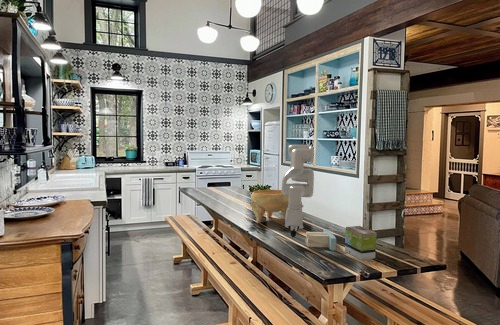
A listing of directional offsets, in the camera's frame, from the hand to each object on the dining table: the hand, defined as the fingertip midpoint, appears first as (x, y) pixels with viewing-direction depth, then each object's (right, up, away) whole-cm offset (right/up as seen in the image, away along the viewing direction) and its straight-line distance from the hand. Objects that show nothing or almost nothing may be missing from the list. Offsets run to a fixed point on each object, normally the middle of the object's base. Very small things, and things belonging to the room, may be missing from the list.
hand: (293, 236), depth 221 cm
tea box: (+35, -7, -16) cm, 39 cm away
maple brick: (+14, -5, 0) cm, 15 cm away
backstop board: (+22, -5, +1) cm, 22 cm away
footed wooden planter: (-9, 0, +60) cm, 60 cm away
